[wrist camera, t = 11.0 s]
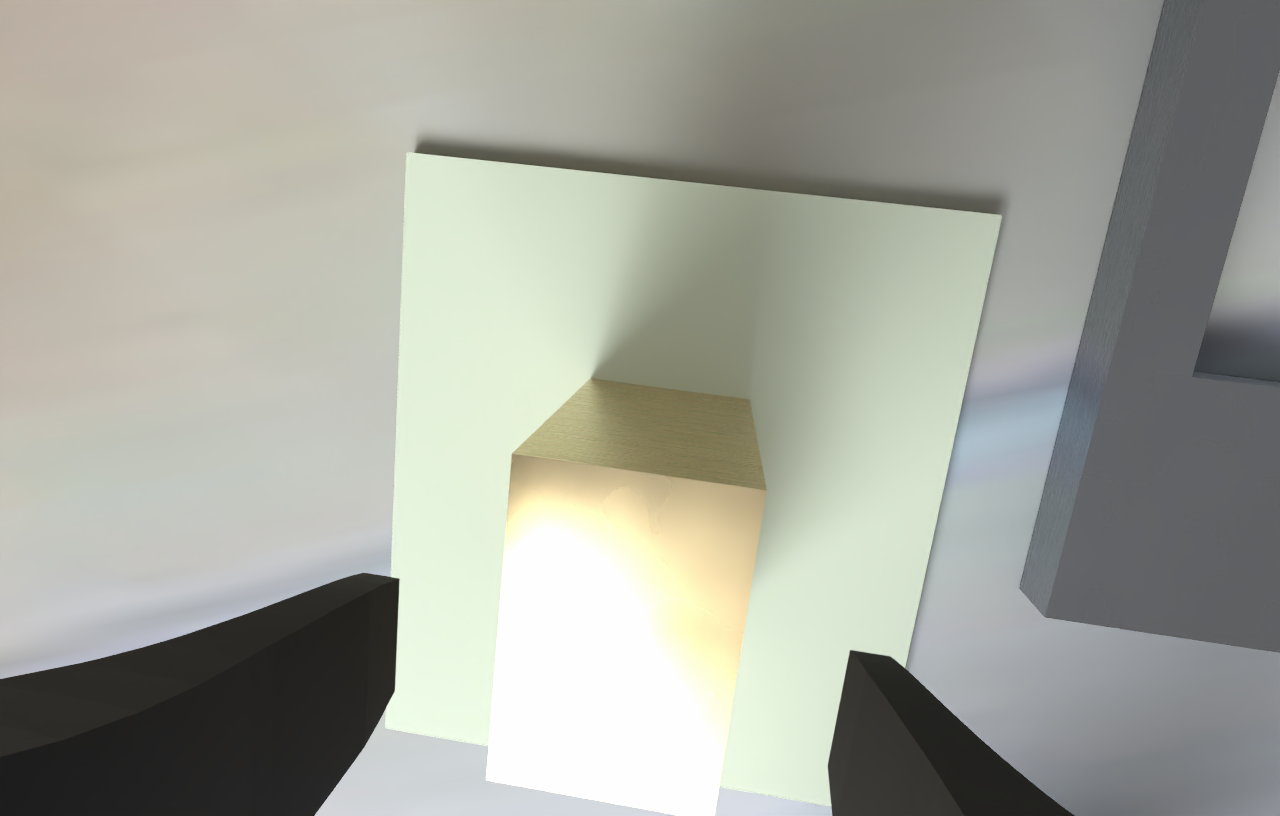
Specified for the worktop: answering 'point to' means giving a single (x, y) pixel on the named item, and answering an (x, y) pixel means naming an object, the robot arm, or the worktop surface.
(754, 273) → the sage mat
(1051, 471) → the iron frame
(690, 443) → the tan rectangular block
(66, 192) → the worktop surface
